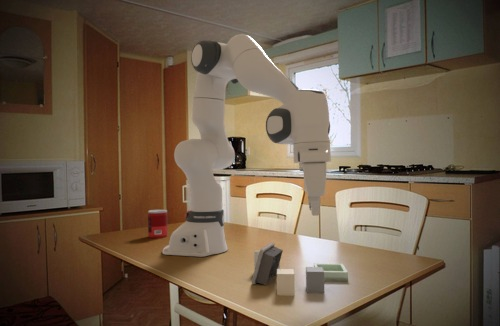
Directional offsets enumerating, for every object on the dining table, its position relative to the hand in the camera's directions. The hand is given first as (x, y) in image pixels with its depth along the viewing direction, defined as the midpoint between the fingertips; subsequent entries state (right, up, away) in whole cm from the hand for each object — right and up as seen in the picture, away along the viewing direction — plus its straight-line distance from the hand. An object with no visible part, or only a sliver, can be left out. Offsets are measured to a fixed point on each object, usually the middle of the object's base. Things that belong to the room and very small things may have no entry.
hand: (314, 212), depth 90 cm
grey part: (0, -19, 0) cm, 19 cm away
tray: (+6, -18, +10) cm, 22 cm away
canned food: (-54, -19, +68) cm, 89 cm away
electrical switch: (-11, -19, +8) cm, 23 cm away
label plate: (-11, -19, +14) cm, 26 cm away
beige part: (-7, -19, -2) cm, 20 cm away
